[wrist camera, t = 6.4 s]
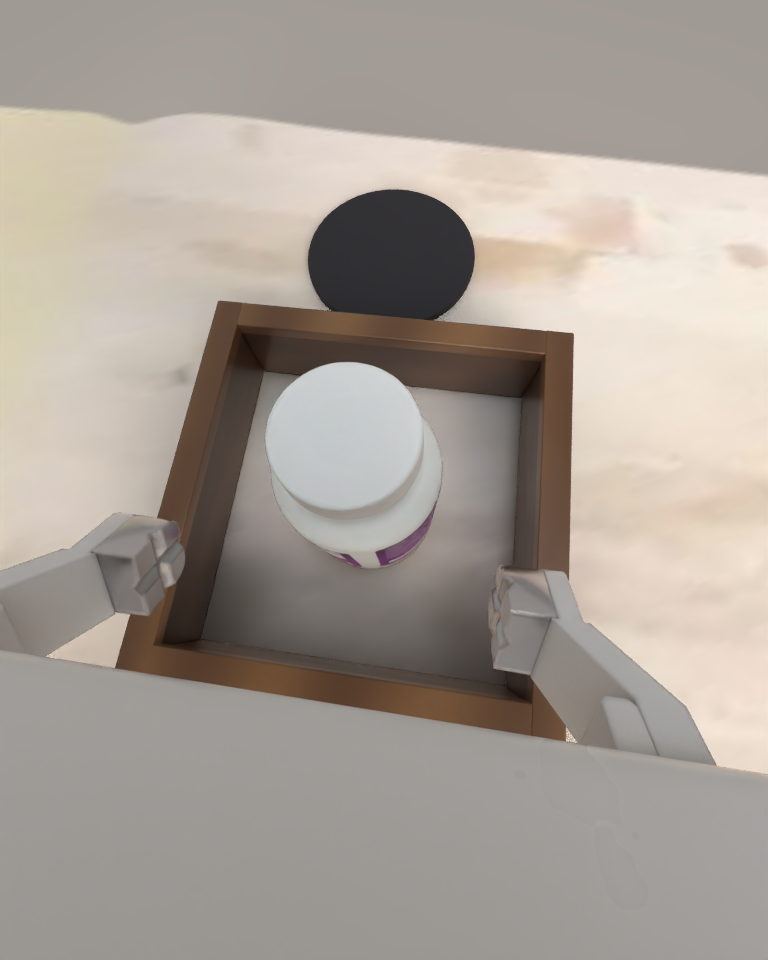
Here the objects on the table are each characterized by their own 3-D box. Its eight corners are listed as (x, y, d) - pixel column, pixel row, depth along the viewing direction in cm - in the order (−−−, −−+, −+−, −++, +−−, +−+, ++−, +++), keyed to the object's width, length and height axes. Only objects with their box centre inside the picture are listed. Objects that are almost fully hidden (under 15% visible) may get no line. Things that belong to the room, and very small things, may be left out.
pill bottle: (418, 447, 21) (432, 320, 11) (441, 558, 19) (477, 516, 10) (307, 466, 21) (229, 354, 11) (320, 579, 19) (244, 556, 10)
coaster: (308, 335, 23) (306, 330, 22) (310, 200, 25) (308, 194, 25) (481, 325, 22) (483, 320, 22) (465, 190, 25) (466, 184, 24)
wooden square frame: (174, 659, 18) (112, 674, 14) (250, 353, 22) (218, 299, 18) (528, 714, 17) (566, 747, 13) (542, 382, 21) (574, 332, 17)
